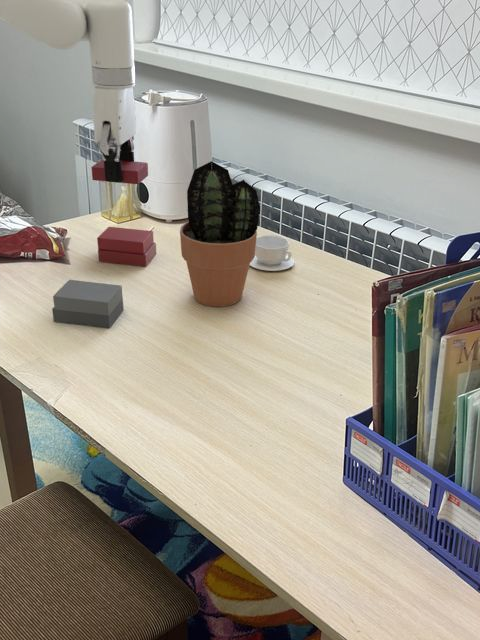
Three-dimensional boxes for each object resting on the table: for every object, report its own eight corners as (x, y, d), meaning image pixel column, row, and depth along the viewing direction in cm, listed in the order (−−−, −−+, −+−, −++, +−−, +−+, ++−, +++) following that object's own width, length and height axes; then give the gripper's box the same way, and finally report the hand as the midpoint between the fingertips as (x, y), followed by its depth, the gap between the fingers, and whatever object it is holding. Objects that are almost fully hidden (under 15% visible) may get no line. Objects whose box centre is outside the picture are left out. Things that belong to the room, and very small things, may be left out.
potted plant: (216, 320, 121) (217, 179, 108) (166, 295, 129) (161, 160, 116) (269, 297, 130) (276, 164, 117) (219, 274, 137) (220, 148, 125)
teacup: (236, 263, 143) (236, 242, 140) (265, 249, 150) (266, 229, 147) (275, 277, 138) (276, 255, 135) (303, 262, 144) (305, 241, 142)
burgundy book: (92, 180, 130) (91, 166, 129) (104, 171, 136) (103, 158, 134) (138, 184, 129) (137, 171, 128) (148, 175, 134) (147, 162, 133)
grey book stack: (53, 322, 118) (49, 295, 115) (70, 303, 124) (67, 278, 122) (109, 328, 117) (107, 302, 114) (124, 310, 123) (122, 284, 120)
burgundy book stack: (98, 261, 141) (96, 238, 138) (110, 248, 146) (108, 226, 144) (146, 266, 139) (144, 243, 137) (156, 253, 145) (155, 231, 143)
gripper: (111, 68, 131) (117, 163, 140) (74, 83, 116) (84, 188, 125) (149, 70, 130) (153, 166, 139) (116, 86, 115) (123, 192, 124)
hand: (120, 175), depth 132 cm, fingers closed on burgundy book, 6 cm apart
